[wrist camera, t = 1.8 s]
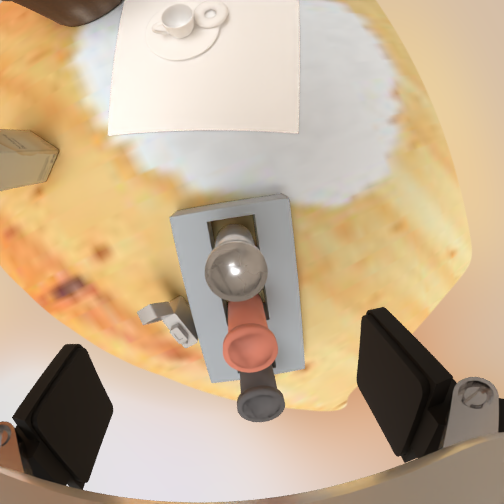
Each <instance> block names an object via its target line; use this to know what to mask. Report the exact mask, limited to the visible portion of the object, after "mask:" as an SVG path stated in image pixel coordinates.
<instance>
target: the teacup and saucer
mask: <svg viewBox="0 0 504 504" xmlns="http://www.w3.org/2000/svg"><path fill="white" fill-rule="evenodd" d="M228 15H229V8H228V6H227V5H226V4H225V3H224V2H223V1H221V0H204V1H202V2H200V1H195V0H180V1H176V2H172V3H170V4H167V5H165V6H164V7H162V8H161V9H159V10H158V11H157V12H156V13H155V14H154V15H153V16H152V17H151V18H150V19H149V21H148V23H147V25H146V27H145V31H144V41H145V44H146V46H147V48H148V49H149V50H150V51H151V52H152V53H153V54H154V55H155V56H157V57H158V58H161V59H163V60H167V61H185V60H189V59H192V58H195V57H197V56H199V55H201V54H203V53H204V52H206V51H207V50H208V49H209V48H210V47H211V46H212V45H213V44H214V43H215V41H216V40H217V38H218V36H219V33H220V27H221V25H222V24H223V23H224V22H225V21H226V20H227V18H228Z"/></svg>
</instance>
